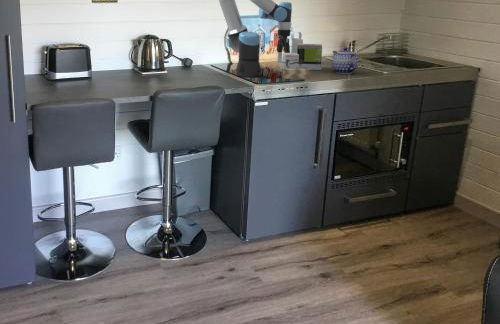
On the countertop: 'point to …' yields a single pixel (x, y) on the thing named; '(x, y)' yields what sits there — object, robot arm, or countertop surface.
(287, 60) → the ink box
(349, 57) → the teapot
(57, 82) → the countertop surface
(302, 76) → the batten
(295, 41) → the grater
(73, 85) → the countertop surface
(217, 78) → the countertop surface
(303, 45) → the tea box
